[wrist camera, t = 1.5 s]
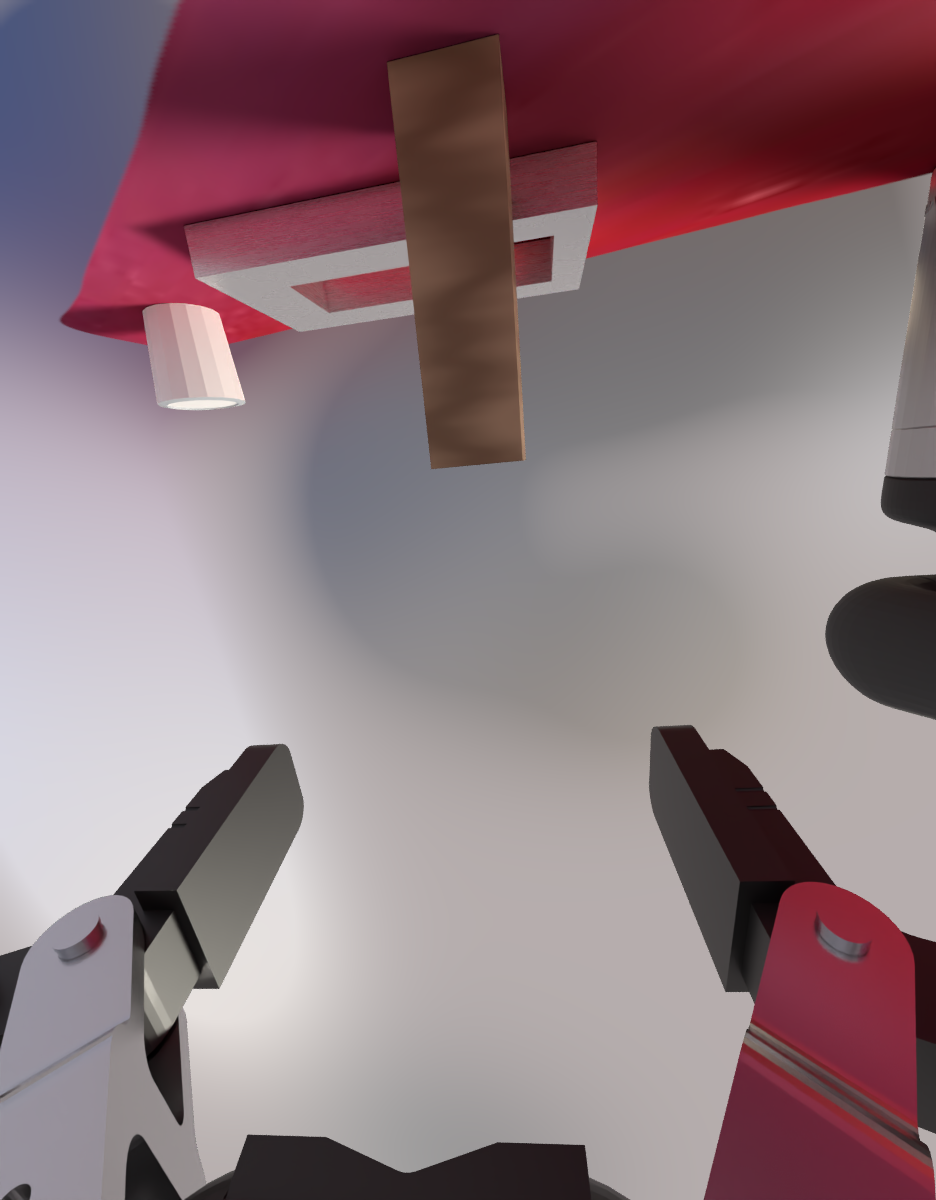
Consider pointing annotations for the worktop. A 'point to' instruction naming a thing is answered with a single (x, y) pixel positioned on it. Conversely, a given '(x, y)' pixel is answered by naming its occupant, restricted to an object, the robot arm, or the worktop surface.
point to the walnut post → (461, 249)
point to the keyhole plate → (388, 245)
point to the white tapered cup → (190, 358)
